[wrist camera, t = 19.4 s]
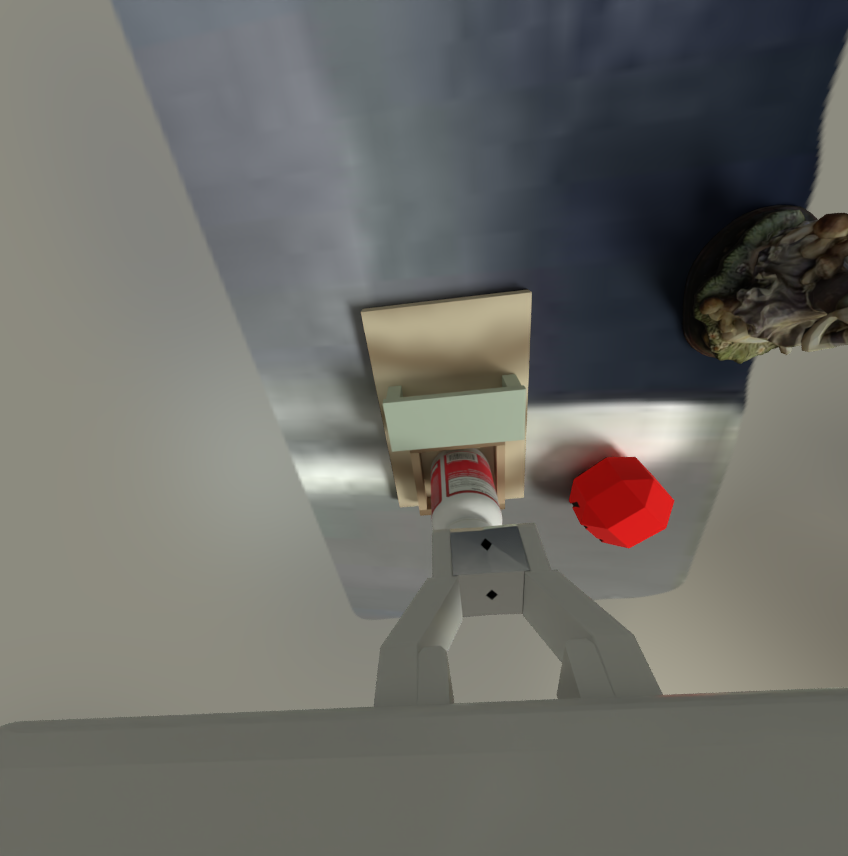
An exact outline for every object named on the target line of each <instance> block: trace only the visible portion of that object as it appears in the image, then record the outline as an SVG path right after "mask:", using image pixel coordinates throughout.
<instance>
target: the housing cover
mask: <svg viewBox="0 0 848 856" xmlns="http://www.w3.org/2000/svg"><path fill="white" fill-rule="evenodd" d="M383 408H384V413H385V418H386V423H387V428H388V434H389V439H390V444H391V449H392V452H394V451H405V450H416V449H427V448H439V447H450V446H461V445H472V444H483V443H494V442H506V441H517V440H524V437H525V410H526V388H525V386H524V385H521V383H520V381H519V380H518V378H517V376H516V374H509V375H502V387H501V388H491V389H481V390H471V391H461V392H451V393H441V394H431V395H420V396H410V397H403V392H402V386H391V387H388V392H387V396H386V399H384V400H383Z"/></svg>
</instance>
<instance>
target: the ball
mask: <svg viewBox="0 0 848 856" xmlns="http://www.w3.org/2000/svg"><path fill="white" fill-rule="evenodd" d="M569 501H570V503H572V504H573V510H574V512H575V514H576V516H577V518H578V520H579V522H580V524H581V525H584V527H585V528H586V529H587V530H588V531H589V532H590V533H592V534H593V535H594V536H595V537H596V538H598V539H600V541H601V542H604V543H608V544H612V545H617V546H621V547H626V548H631V547H632V546H634V545H636V544H638V543H640V542H642V541H643V540H645V539H647V538H649V537H651V536H653V535H654V534H656V533H658V532H660V531H662V530H664V529H665V528H666V527H667V524H668V520H669V517H670V514H671V510H672V507H673V503H674V500H673V498H672V497H671V496H670V495H669V494H668V493H667V491H666V490H665V489H664V488H663V487H662V486H661V484H660V483H659V482H658V481H657V480H656V478H655V477H654V476H653V475H652V474H651V473H650V472H649V471H648V470H647V469H646V468H645V467H644V466H643V465H642V463H641V462H640V461H639V460H638V459H637V458H636V457H607V458H605V459H603V460H602V461H600V462H599V463H597V464H596V465H594V466H593V467H591V468H590V469H588V470H587V471H585V472H584V473H582V474H581V475H579V476H578V477H577V478H575V479H574V481H573V485H572V489H571V494H570V498H569Z"/></svg>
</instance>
